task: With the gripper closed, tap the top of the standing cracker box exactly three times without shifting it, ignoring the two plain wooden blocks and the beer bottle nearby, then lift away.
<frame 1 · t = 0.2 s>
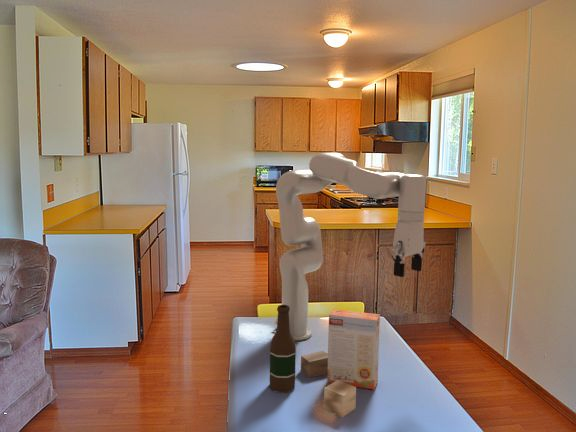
hand: (407, 273, 149), 31 cm above the table, tool pointing down, fingers open, 9 cm apart
beer bottle: (282, 387, 143), on the table
walnut block: (316, 371, 153), on the table
maple block: (339, 408, 132), on the table
cracker box: (352, 382, 146), on the table
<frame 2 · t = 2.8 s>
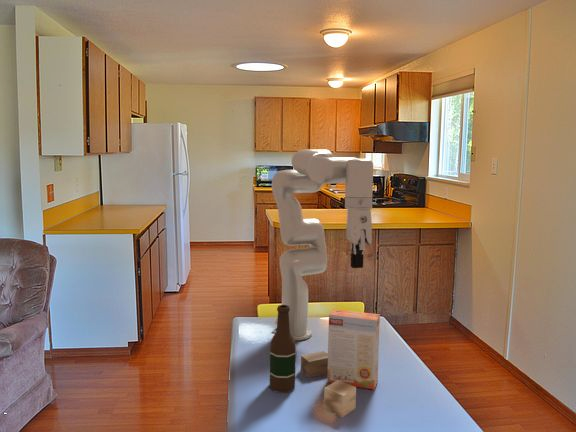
hand: (356, 267, 141), 35 cm above the table, tool pointing down, fingers closed
nothing on the table moved.
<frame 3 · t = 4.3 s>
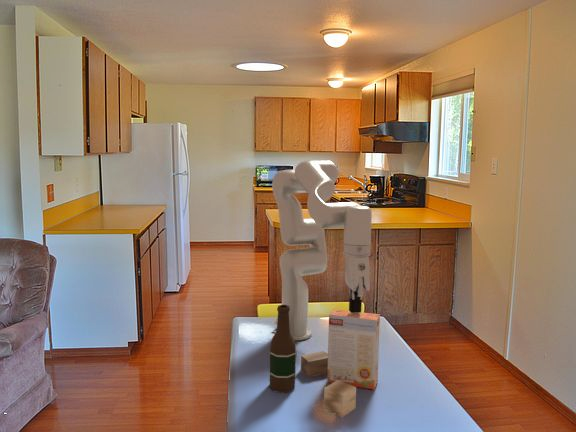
hand: (355, 311, 143), 21 cm above the table, tool pointing down, fingers closed
nothing on the table moved.
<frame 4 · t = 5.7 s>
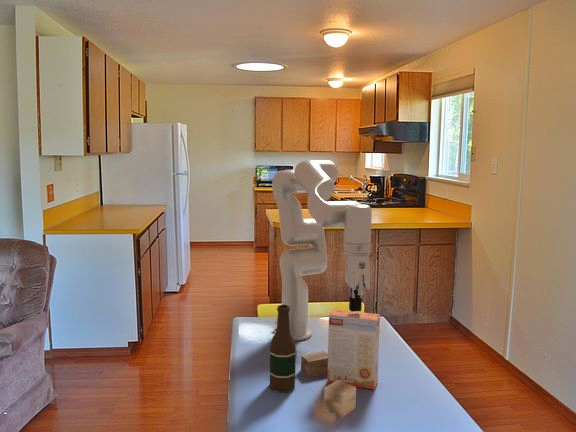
hand: (355, 310, 143), 22 cm above the table, tool pointing down, fingers closed
nothing on the table moved.
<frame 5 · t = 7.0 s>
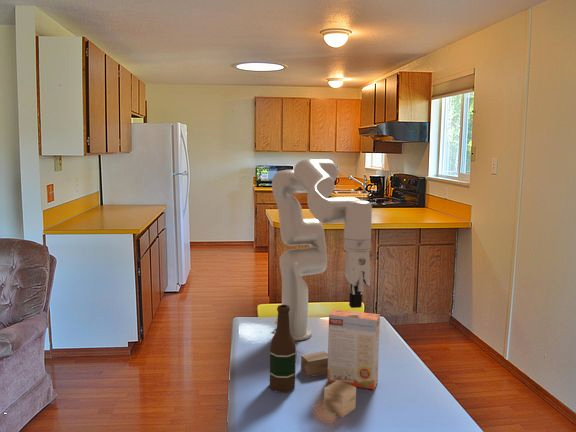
hand: (355, 306, 143), 23 cm above the table, tool pointing down, fingers closed
nothing on the table moved.
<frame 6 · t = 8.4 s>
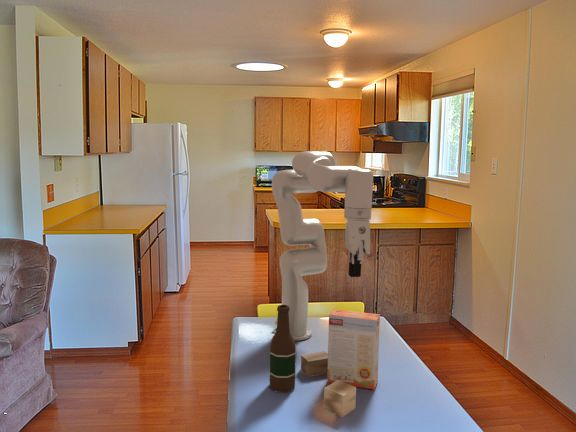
hand: (354, 276, 143), 32 cm above the table, tool pointing down, fingers closed
nothing on the table moved.
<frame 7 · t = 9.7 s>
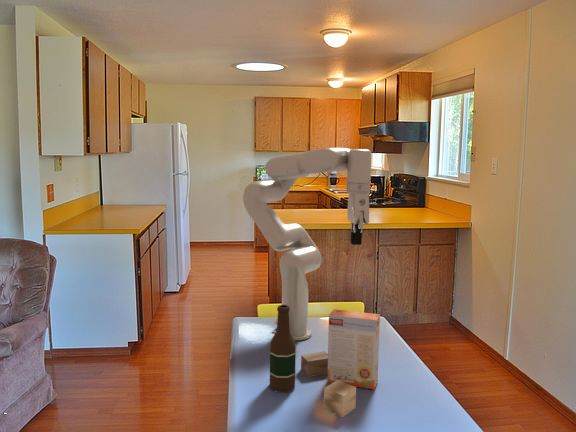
hand: (355, 244, 162), 37 cm above the table, tool pointing down, fingers closed
nothing on the table moved.
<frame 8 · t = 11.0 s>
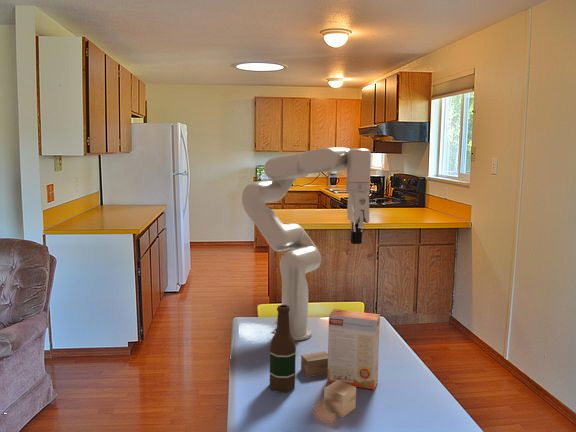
hand: (356, 243, 162), 37 cm above the table, tool pointing down, fingers closed
nothing on the table moved.
at the end: cracker box moved 0.2 cm from its start; cracker box tilted 0°; beer bottle moved 0.2 cm from its start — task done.
